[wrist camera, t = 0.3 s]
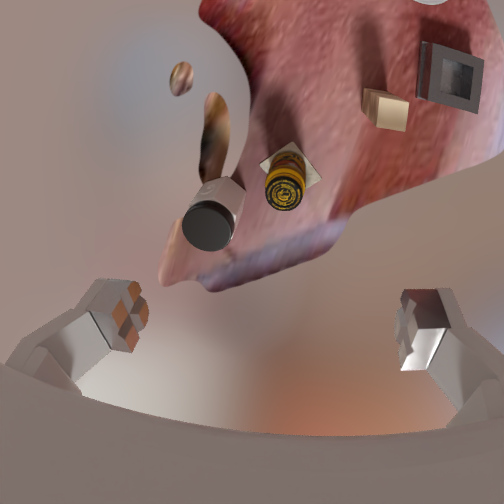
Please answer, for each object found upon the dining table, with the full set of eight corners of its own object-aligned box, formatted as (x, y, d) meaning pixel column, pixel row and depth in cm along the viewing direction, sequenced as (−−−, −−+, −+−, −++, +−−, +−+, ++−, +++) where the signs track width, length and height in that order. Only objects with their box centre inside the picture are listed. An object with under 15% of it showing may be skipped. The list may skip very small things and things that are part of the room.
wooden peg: (363, 87, 43) (379, 97, 34) (387, 91, 43) (409, 102, 33) (361, 110, 46) (376, 126, 36) (384, 114, 45) (405, 131, 36)
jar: (238, 170, 56) (222, 200, 46) (253, 210, 60) (241, 245, 50) (194, 184, 58) (170, 215, 49) (211, 220, 63) (192, 256, 53)
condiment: (292, 140, 51) (288, 163, 41) (321, 178, 54) (324, 210, 44) (259, 164, 54) (247, 192, 45) (288, 199, 57) (283, 234, 48)
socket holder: (420, 41, 36) (431, 40, 32) (471, 57, 35) (485, 58, 31) (415, 97, 42) (425, 101, 38) (465, 110, 41) (478, 116, 37)
